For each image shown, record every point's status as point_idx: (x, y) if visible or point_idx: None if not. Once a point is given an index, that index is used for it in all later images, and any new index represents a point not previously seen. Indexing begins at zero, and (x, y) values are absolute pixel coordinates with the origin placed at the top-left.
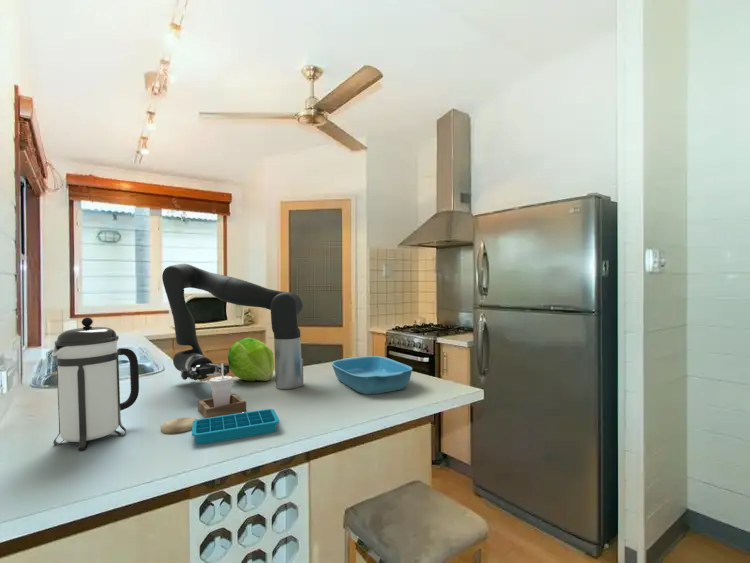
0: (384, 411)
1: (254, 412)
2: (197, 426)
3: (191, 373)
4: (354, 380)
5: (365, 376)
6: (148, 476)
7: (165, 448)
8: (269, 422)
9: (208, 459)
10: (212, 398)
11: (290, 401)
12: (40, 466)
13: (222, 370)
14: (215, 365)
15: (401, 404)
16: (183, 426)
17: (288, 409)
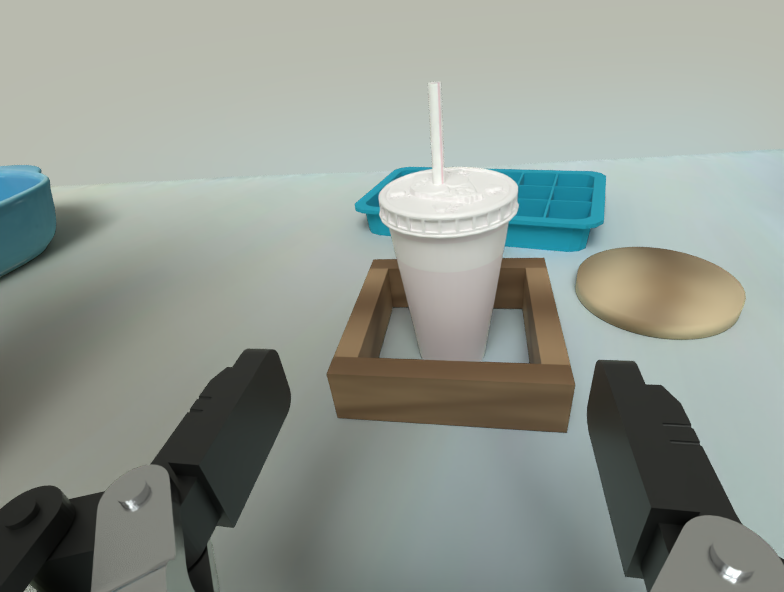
0: (188, 187)
1: None
2: (588, 207)
3: (700, 481)
4: (25, 215)
5: (46, 177)
6: (680, 161)
7: (672, 211)
8: (419, 169)
9: (568, 168)
10: (476, 369)
11: (189, 305)
12: None
13: (438, 130)
14: (166, 582)
15: (129, 194)
16: (636, 256)
17: (272, 259)
